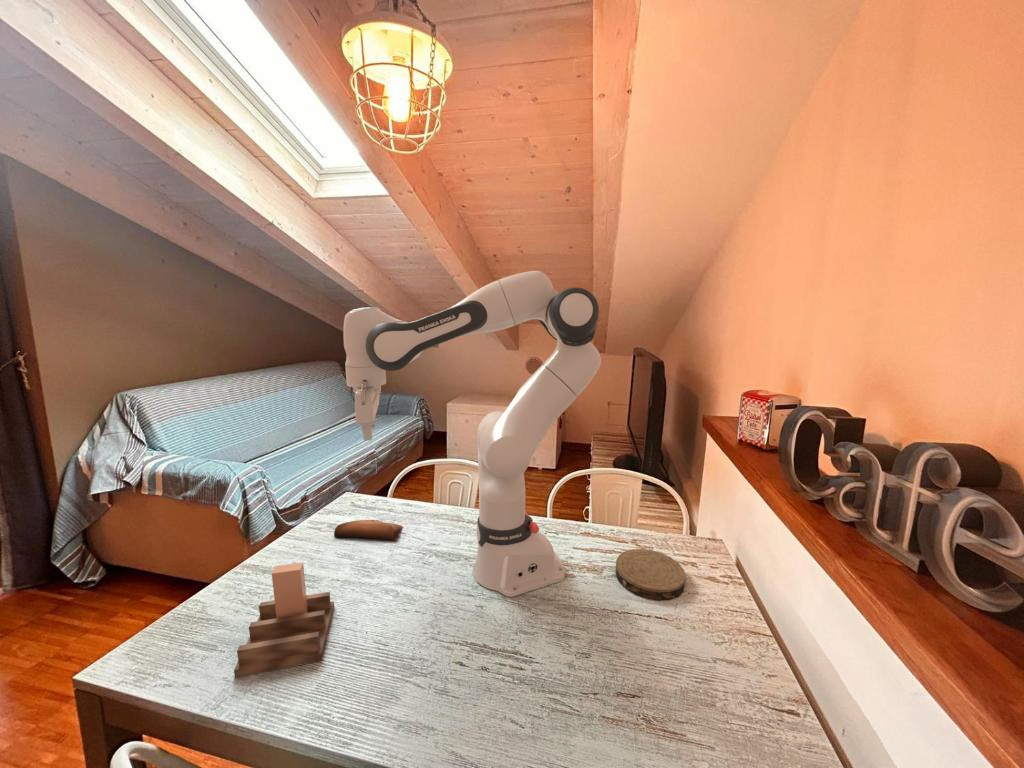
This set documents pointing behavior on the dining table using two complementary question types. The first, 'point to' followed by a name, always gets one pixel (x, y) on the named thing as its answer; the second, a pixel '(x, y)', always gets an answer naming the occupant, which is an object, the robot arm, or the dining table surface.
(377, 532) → the sunglasses case
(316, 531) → the dining table surface
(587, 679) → the dining table surface
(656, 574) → the wood slice
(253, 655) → the rack
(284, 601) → the clay slab
